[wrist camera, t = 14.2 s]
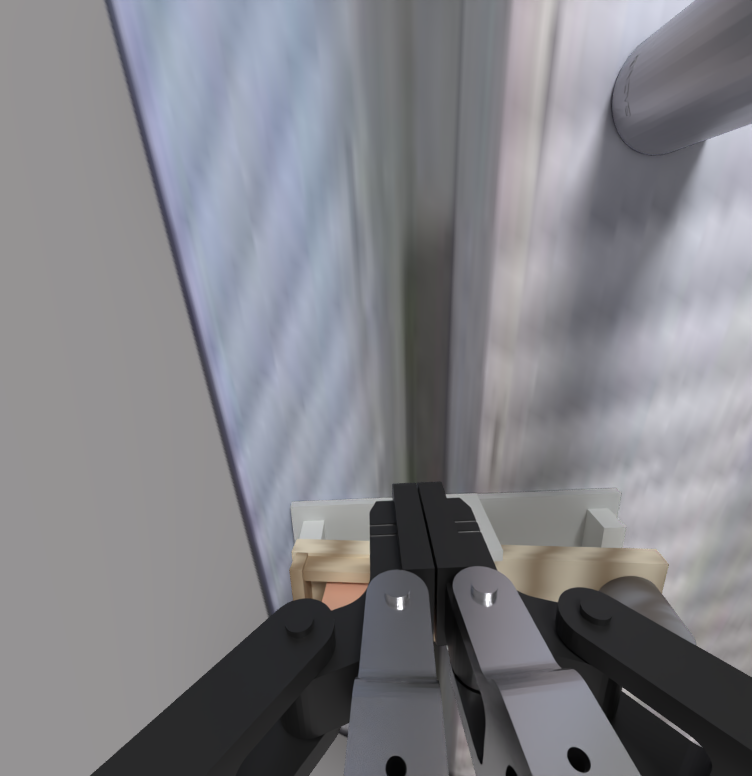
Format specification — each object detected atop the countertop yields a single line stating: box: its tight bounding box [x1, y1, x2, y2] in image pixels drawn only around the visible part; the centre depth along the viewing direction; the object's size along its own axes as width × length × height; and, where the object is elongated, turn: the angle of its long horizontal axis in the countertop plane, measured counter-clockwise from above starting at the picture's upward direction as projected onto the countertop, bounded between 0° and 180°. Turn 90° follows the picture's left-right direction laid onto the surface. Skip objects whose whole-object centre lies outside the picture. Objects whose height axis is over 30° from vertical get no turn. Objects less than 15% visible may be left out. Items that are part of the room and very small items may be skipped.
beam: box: [289, 539, 696, 645], centre depth 38 cm, size 36×9×7 cm, turn 92°
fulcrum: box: [291, 488, 626, 650], centre depth 43 cm, size 38×12×10 cm, turn 92°
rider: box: [322, 582, 369, 610], centre depth 38 cm, size 6×5×5 cm
